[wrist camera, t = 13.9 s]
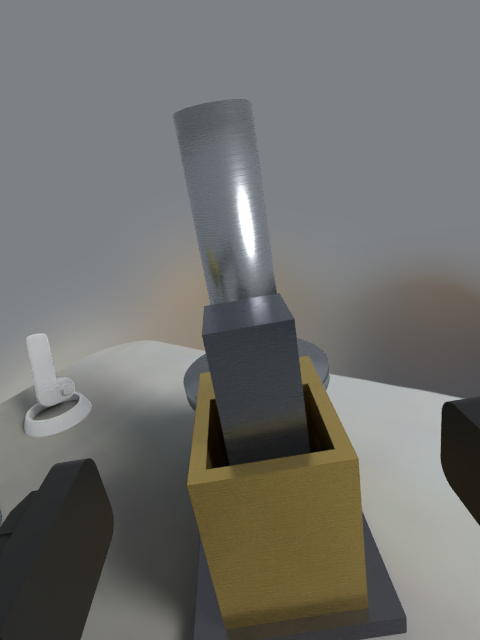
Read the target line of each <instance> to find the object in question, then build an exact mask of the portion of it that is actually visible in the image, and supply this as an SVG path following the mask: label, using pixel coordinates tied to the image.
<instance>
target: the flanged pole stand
mask: <svg viewBox="0 0 480 640" xmlns="http://www.w3.org/2000/svg"><path fill="white" fill-rule="evenodd" d="M173 119H174V124H175V128H176V134H177V139H178V144H179V149H180V154H181V159H182V164H183V169H184V174H185V179H186V184H187V189H188V194H189V199H190V205H191V209H192V215H193V220H194V225H195V230H196V234H197V239H198V245H199V250H200V255H201V260H202V265H203V270H204V275H205V280H206V285H207V290H208V295H209V300H210V305H215V304H220V303H226V302H232V301H238V300H243V299H249V298H255V297H261V296H266V295H272V294H277V291H276V283H275V276H274V268H273V261H272V253H271V246H270V239H269V231H268V223H267V216H266V208H265V201H264V193H263V186H262V178H261V171H260V163H259V156H258V149H257V141H256V133H255V126H254V119H253V111H252V103H251V101H249V100H244V99H236V100H235V99H234V100H222V101H216V102H210V103H204V104H200V105H196V106H192V107H189V108H185V109H183V110H180V111H178V112H176V113H174V115H173ZM297 345H298V354H299V362H300V370H301V379H302V387H303V396H304V404H305V412H306V421H307V429H308V437H309V446H310V453H308V454H302V455H296V456H290V457H283V458H277V459H271V460H264V461H258V462H252V463H246V464H239V465H233V466H230V464H229V459H228V455H227V450H226V445H225V441H224V436H223V431H222V427H221V422H220V417H219V412H218V408H217V403H216V398H215V394H214V389H213V384H212V380H211V375H210V370H209V365H208V361H207V356H206V354H204V355H203V356H201V357H200V358H199V359H197V360H196V361H195V362H194V363H193V364H192V365H191V366H190V367H189V368H188V370H187V372H186V373H185V376H184V387H185V391H186V395H187V399H188V402H189V404H190V406H191V407H192V408H193V410H195V411H196V414H195V423H194V431H193V439H192V448H191V456H190V464H189V473H188V481H187V488H188V491H189V495H190V499H191V503H192V506H193V510H194V514H195V518H196V521H197V525H198V529H199V533H200V547H199V562H198V577H197V592H196V608H195V623H194V638H193V640H360V639H366V638H373V637H380V636H386V635H393V634H400V633H406V632H407V624H406V615H405V613H404V610H403V608H402V606H401V603H400V601H399V598H398V596H397V594H396V591H395V589H394V586H393V584H392V582H391V579H390V577H389V574H388V572H387V570H386V567H385V565H384V562H383V560H382V558H381V555H380V553H379V550H378V548H377V546H376V543H375V541H374V538H373V536H372V534H371V531H370V529H369V526H368V524H367V522H366V519H365V517H364V515H363V512H362V506H361V491H360V475H359V460H358V457H357V455H356V452H355V450H354V448H353V446H352V444H351V442H350V440H349V438H348V436H347V434H346V432H345V430H344V428H343V426H342V423H341V421H340V419H339V417H338V415H337V413H336V411H335V409H334V407H333V405H332V403H331V401H330V399H329V397H328V395H327V392H326V389H327V387H328V384H329V379H330V376H329V366H328V358H327V356H326V354H325V353H324V351H323V350H321V349H320V348H319V347H318V346H316V345H314V344H312V343H310V342H307V341H304V340H301V339H297Z"/></svg>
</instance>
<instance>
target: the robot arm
mask: <svg viewBox="0 0 480 640" xmlns="http://www.w3.org/2000/svg"><path fill="white" fill-rule="evenodd" d="M441 464H442V468H443V471H444V474H445V477H446V479H447V481H448V483H449V485H450V486H451V488H452V489H453V490H454V492H455V493H456V494H457V496H458V497H459V498H460V500H461V501H462V502H463V504H464V505H465V507H466V508H467V509H468V511H469V512H470V513H471V515H472V516H473V517H474V519H475V520H476V521H477V523H478V524H479V525H480V397H474V398H468V399H461V400H455V401H449V402H445V403H444V405H443V407H442V422H441ZM112 534H113V512H112V508H111V505H110V502H109V499H108V497H107V494H106V491H105V488H104V486H103V483H102V480H101V477H100V475H99V472H98V469H97V466H96V464H95V462H94V461H93V460H92V459H90V458H88V459H82V460H76V461H69V462H63V463H57V464H55V465H54V466H53V467H52V468H51V470H50V471H49V473H48V475H47V476H46V478H45V480H44V481H43V483H42V485H41V486H40V488H39V490H37V491H32V492H31V493H30V494H29V495H27V496H26V497H25V498H24V499H23V500H22V501H21V502H20V503H19V504H18V505H17V506H16V507H15V508H14V509H13V510H12V511H11V512H10V513H9V515H8V516H7V518H6V519H5V521H4V523H3V524H2V526H1V527H0V640H80V639H81V636H82V632H83V629H84V626H85V623H86V620H87V616H88V613H89V610H90V607H91V604H92V600H93V597H94V594H95V591H96V587H97V584H98V581H99V578H100V575H101V571H102V568H103V565H104V562H105V558H106V555H107V552H108V549H109V546H110V542H111V539H112Z"/></svg>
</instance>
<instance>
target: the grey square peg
mask: <svg viewBox="0 0 480 640" xmlns="http://www.w3.org/2000/svg"><path fill="white" fill-rule="evenodd" d="M202 337H203V342H204V347H205V351H206V356H207V361H208V365H209V370H210V375H211V380H212V384H213V389H214V394H215V398H216V403H217V408H218V412H219V417H220V422H221V427H222V431H223V436H224V441H225V445H226V450H227V455H228V459H229V464H230V466H233V465H239V464H246V463H252V462H258V461H264V460H271V459H277V458H283V457H290V456H296V455H302V454H308V453H310V446H309V437H308V429H307V421H306V412H305V404H304V396H303V387H302V379H301V370H300V362H299V354H298V345H297V337H296V328H295V320H294V317H293V316H292V314H291V312H290V311H289V309H288V307H287V306H286V304H285V302H284V300H283V299H282V297H281V295H280V294H279V293H278V294H272V295H266V296H261V297H255V298H249V299H243V300H238V301H232V302H226V303H220V304H215V305H209V306H204V316H203V329H202Z"/></svg>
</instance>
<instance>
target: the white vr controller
mask: <svg viewBox="0 0 480 640" xmlns="http://www.w3.org/2000/svg"><path fill="white" fill-rule="evenodd" d="M26 341H27V348H28V353H29V358H30V363H31V369H32V374H33V379H34V385H35V394H36V400H37V402H38V403H36V404H35V405H34V406H32V407H31V408H30V409H29V410H28V412H27V413H26V417H25V421H24V432H25V433H26V434H27V435H28V436H31V437H45V436H50V435H54V434H57V433H60V432H62V431H65V430H67V429H69V428H71V427H73V426H74V425H76V424H77V423H79V422H80V421H82V420H83V419H84V418H85V417H86V416H87V415H88V414H89V412H90V411H91V408H92V405H91V403H90V401H89V400H88V399H87V398H86V397H85V396H84V395H82V394H81V393H79V392H75V384H74V382H73V381H72V380H71V379H70V378H67V377H61V378H56V375H55V370H54V365H53V360H52V356H51V350H50V346H49V342H48V337H47V335H46V334H43V333H42V334H34V335H30V336H28V337H27V339H26ZM74 400H79V402H78V403H77V404H76V405H75V406H74V407H73V408H72V409H70V410H69V411H67V412H65V413H63V414H61V415H59V416H56V417H54V418H50V419H46V420H32V419H33V418H34V417H36V416H37V415H38V414H39V413H41V412H42V411H44V410H46V409H48V408H50V407H52V406H54V405H57V404H60V403H63V402H67V401H74Z"/></svg>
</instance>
